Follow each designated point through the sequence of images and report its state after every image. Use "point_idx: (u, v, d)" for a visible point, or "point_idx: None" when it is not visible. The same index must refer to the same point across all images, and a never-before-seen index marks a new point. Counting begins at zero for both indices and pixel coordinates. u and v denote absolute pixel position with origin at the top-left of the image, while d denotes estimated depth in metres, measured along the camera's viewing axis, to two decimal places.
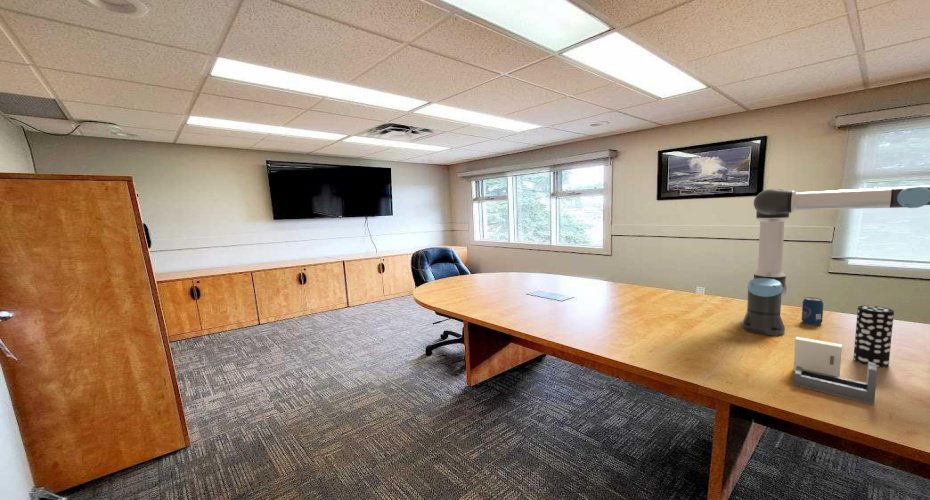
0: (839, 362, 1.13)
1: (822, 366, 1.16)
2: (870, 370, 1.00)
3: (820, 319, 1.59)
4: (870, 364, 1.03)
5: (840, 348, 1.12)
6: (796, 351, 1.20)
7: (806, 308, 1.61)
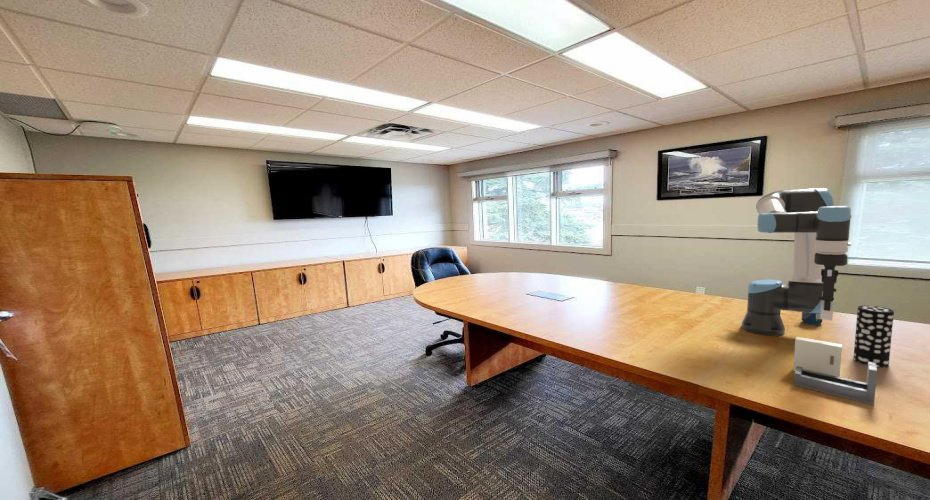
0: (839, 362, 1.13)
1: (822, 366, 1.16)
2: (870, 370, 1.00)
3: (820, 319, 1.59)
4: (870, 364, 1.03)
5: (840, 348, 1.12)
6: (796, 351, 1.20)
7: None
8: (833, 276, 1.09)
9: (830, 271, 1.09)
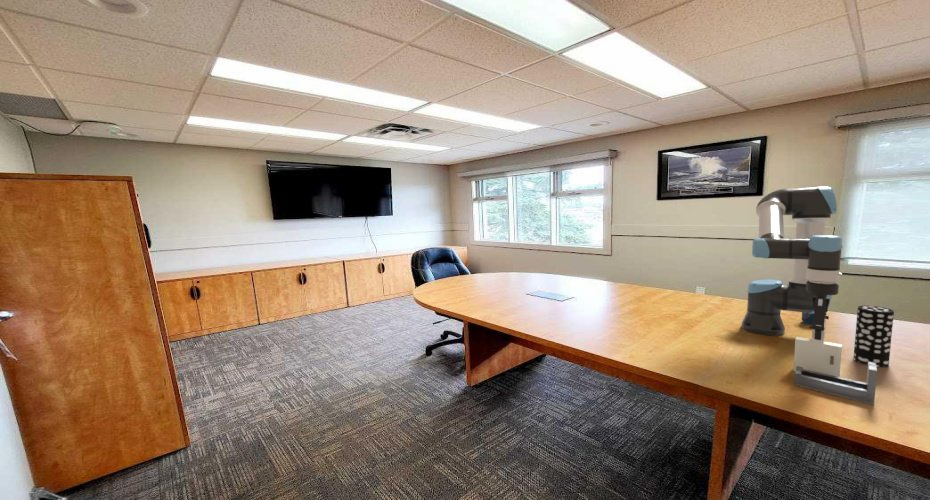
0: (839, 362, 1.13)
1: (822, 366, 1.16)
2: (870, 370, 1.00)
3: None
4: (870, 364, 1.03)
5: (840, 348, 1.12)
6: (796, 351, 1.20)
7: None
8: (824, 306, 1.10)
9: (820, 301, 1.10)
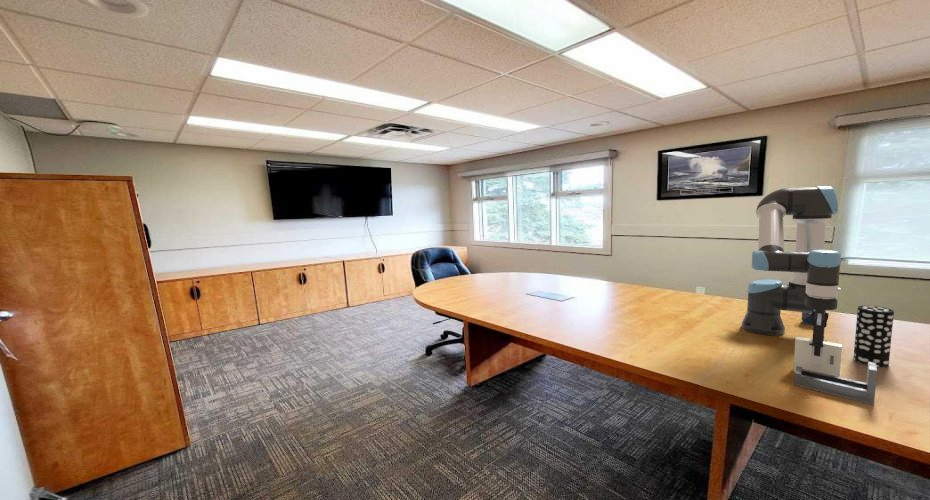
0: (839, 362, 1.13)
1: (822, 366, 1.16)
2: (870, 370, 1.00)
3: None
4: (870, 364, 1.03)
5: (840, 348, 1.12)
6: (796, 351, 1.20)
7: None
8: (822, 326, 1.11)
9: (819, 322, 1.11)
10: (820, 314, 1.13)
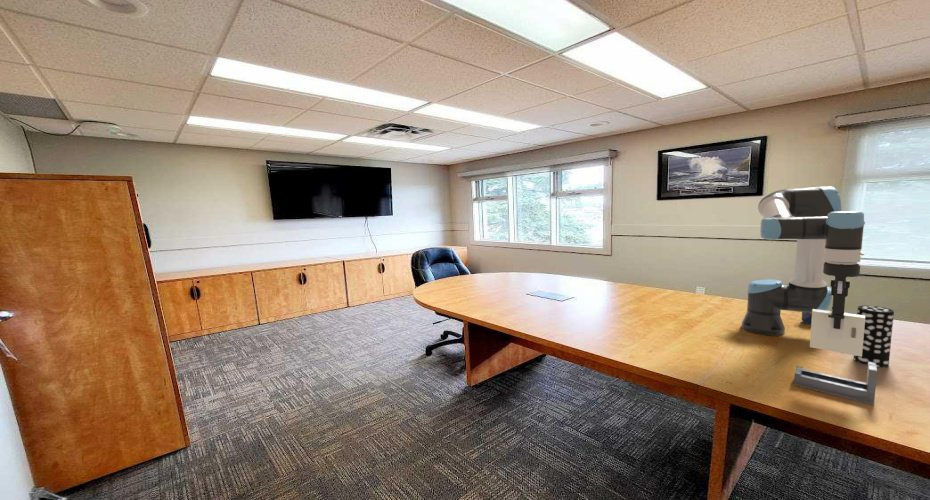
0: (862, 335, 1.01)
1: (842, 340, 1.04)
2: (870, 370, 1.00)
3: None
4: (870, 364, 1.03)
5: (863, 319, 1.01)
6: (813, 325, 1.09)
7: None
8: (844, 294, 1.00)
9: (840, 290, 1.00)
10: (841, 282, 1.02)
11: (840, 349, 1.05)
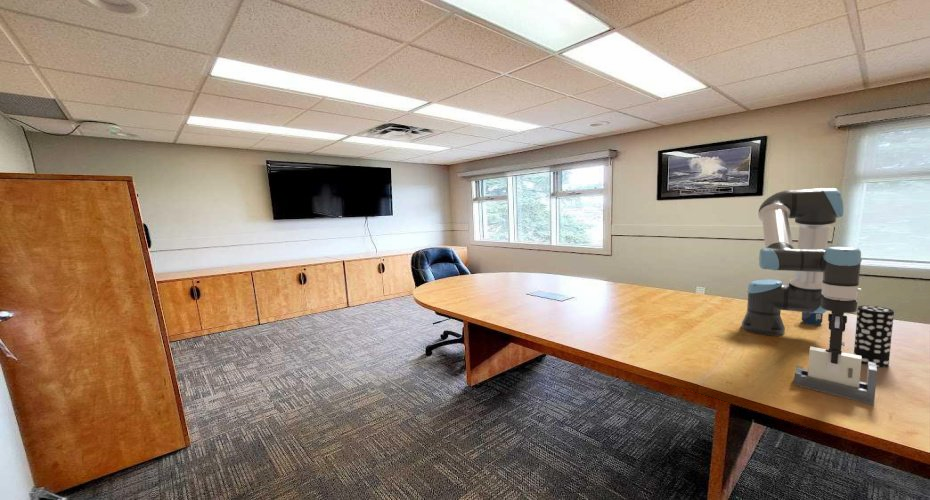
0: (858, 375, 1.03)
1: (839, 380, 1.06)
2: (870, 370, 1.00)
3: (820, 319, 1.59)
4: (870, 364, 1.03)
5: (860, 360, 1.02)
6: (810, 363, 1.10)
7: None
8: (841, 329, 1.01)
9: (837, 324, 1.01)
10: (838, 317, 1.03)
11: None
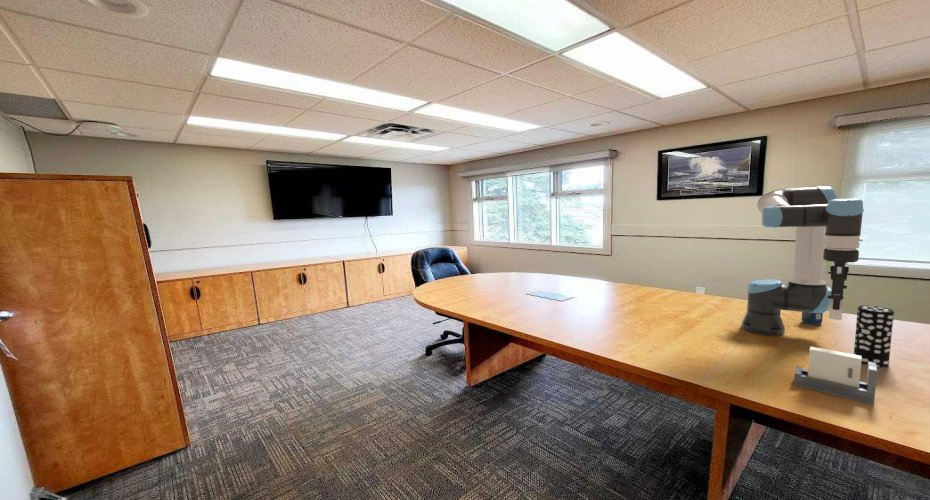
0: (858, 375, 1.03)
1: (839, 380, 1.06)
2: (870, 370, 1.00)
3: (820, 319, 1.59)
4: (870, 364, 1.03)
5: (860, 360, 1.02)
6: (810, 363, 1.10)
7: None
8: (843, 273, 1.03)
9: (839, 269, 1.04)
10: (840, 266, 1.06)
11: None
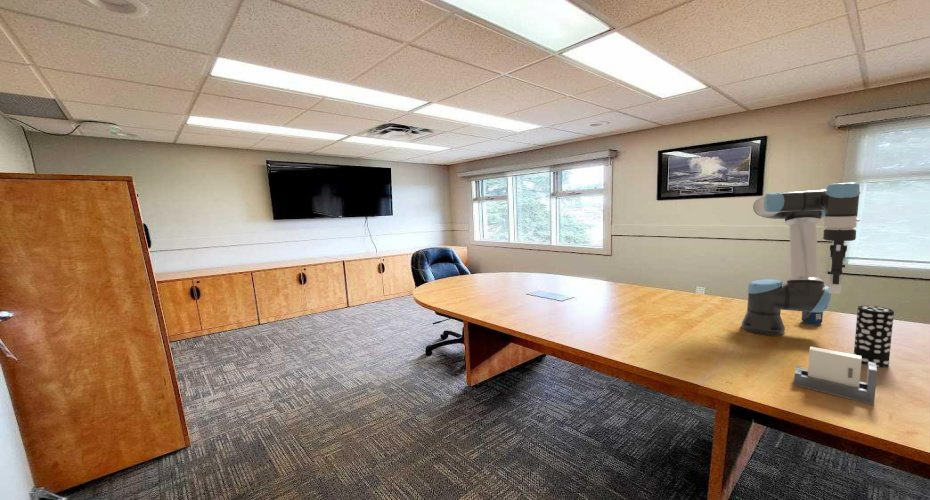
0: (858, 375, 1.03)
1: (839, 380, 1.06)
2: (870, 370, 1.00)
3: (820, 319, 1.59)
4: (870, 364, 1.03)
5: (860, 360, 1.02)
6: (810, 363, 1.10)
7: None
8: (842, 250, 1.12)
9: (838, 246, 1.12)
10: (839, 244, 1.15)
11: None
